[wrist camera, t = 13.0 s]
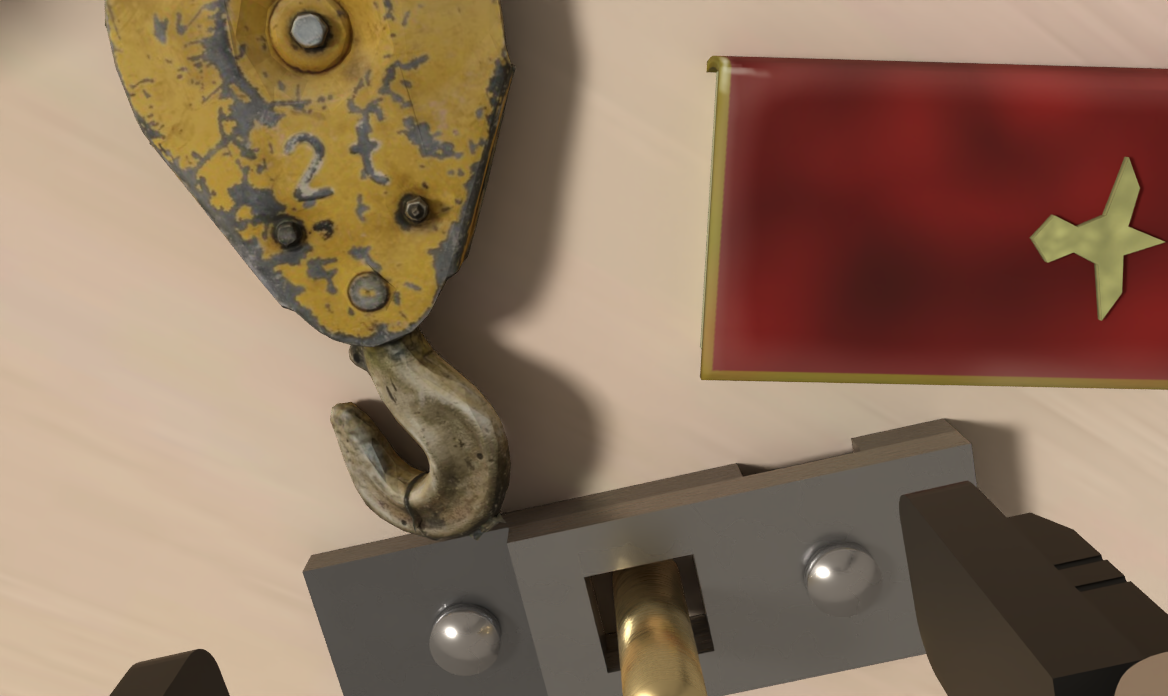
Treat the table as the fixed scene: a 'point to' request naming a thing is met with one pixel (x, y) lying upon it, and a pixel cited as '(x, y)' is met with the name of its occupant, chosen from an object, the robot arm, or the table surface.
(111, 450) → the table surface
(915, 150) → the hardcover book
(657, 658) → the brass pin
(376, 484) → the pulley block
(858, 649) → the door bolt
